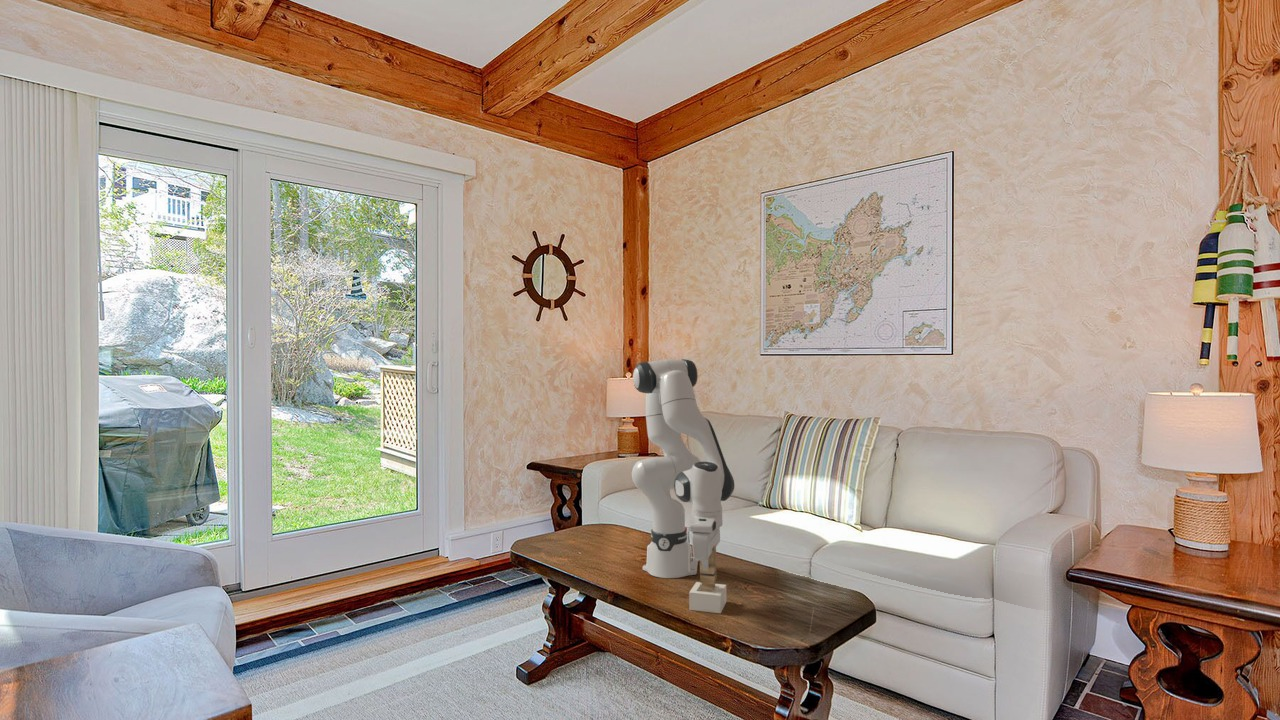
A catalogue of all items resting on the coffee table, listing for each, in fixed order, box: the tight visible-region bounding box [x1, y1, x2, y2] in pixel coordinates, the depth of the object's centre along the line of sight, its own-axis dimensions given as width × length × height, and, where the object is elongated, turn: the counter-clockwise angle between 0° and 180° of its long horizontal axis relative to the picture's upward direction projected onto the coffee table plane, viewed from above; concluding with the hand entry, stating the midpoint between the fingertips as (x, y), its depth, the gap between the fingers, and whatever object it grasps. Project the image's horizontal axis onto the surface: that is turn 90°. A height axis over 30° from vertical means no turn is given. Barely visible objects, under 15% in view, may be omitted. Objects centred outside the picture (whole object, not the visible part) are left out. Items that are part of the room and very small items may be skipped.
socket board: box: [688, 581, 727, 614], centre depth 184 cm, size 9×9×5 cm
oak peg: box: [699, 545, 718, 591], centre depth 184 cm, size 4×4×12 cm
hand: (707, 567), depth 184 cm, fingers closed on oak peg, 4 cm apart
